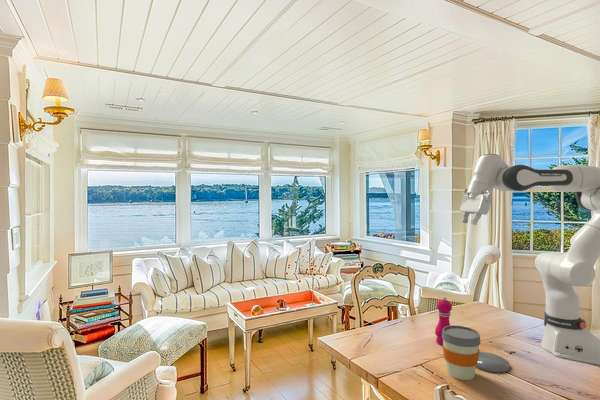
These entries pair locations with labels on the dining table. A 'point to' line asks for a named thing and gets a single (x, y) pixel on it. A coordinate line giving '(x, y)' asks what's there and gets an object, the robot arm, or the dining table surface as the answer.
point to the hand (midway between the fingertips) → (468, 223)
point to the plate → (492, 363)
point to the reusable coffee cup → (461, 351)
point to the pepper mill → (442, 318)
